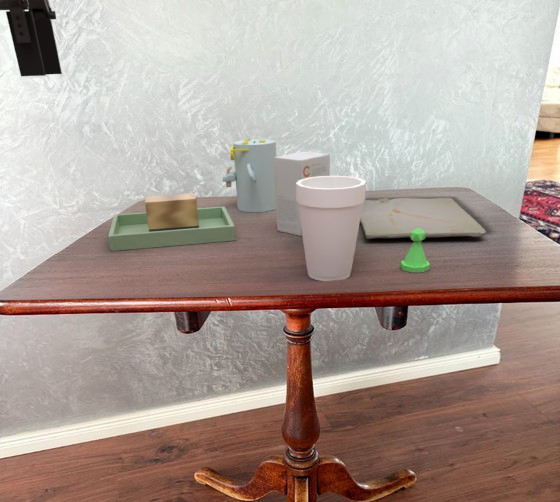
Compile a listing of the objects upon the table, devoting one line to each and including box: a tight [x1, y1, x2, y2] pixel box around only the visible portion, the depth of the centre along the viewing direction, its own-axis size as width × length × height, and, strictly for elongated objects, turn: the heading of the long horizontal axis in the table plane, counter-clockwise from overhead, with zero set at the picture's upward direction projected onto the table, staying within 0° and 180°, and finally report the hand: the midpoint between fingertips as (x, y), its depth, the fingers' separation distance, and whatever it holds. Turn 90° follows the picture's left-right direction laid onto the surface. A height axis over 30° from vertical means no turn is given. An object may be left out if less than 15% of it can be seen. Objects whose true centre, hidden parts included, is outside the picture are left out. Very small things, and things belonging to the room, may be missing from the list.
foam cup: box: [296, 175, 367, 282], centre depth 77 cm, size 10×9×13 cm
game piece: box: [400, 228, 431, 274], centre depth 80 cm, size 4×4×6 cm
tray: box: [107, 206, 237, 252], centre depth 101 cm, size 22×16×3 cm
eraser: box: [144, 192, 199, 232], centre depth 99 cm, size 9×5×6 cm, turn 101°
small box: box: [274, 151, 331, 237], centre depth 98 cm, size 8×6×13 cm
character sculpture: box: [221, 138, 277, 213], centre depth 114 cm, size 20×12×13 cm, turn 179°
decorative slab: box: [360, 197, 487, 240], centre depth 103 cm, size 27×21×2 cm
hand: (43, 75), depth 71 cm, fingers open, 13 cm apart
